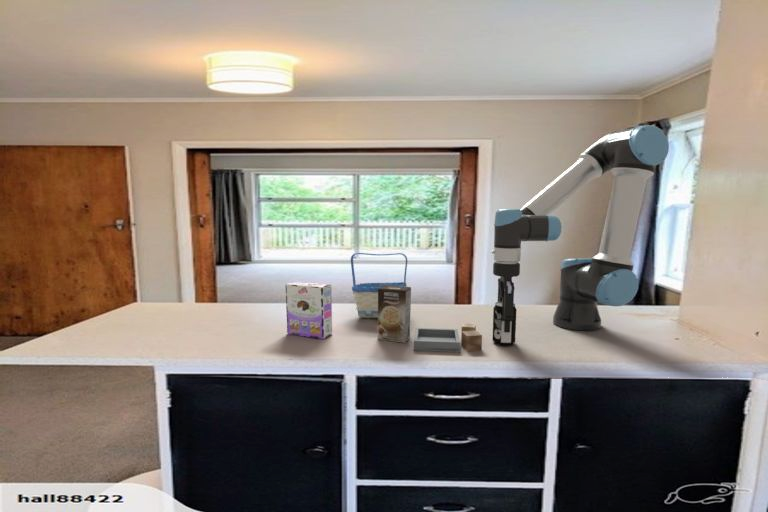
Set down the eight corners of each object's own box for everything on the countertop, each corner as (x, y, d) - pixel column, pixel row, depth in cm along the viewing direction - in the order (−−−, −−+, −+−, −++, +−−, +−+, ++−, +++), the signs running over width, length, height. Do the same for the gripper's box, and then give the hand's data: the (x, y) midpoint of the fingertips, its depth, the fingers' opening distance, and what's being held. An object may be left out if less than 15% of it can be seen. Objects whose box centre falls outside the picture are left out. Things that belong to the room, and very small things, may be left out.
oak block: (475, 336, 139) (476, 324, 139) (474, 340, 135) (474, 327, 135) (462, 335, 140) (463, 323, 140) (461, 339, 137) (461, 326, 136)
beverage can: (516, 347, 129) (517, 307, 127) (492, 345, 130) (494, 305, 128) (514, 340, 135) (515, 301, 133) (492, 339, 136) (493, 300, 135)
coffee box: (376, 339, 135) (376, 288, 133) (383, 333, 141) (383, 284, 139) (405, 343, 132) (405, 290, 130) (411, 336, 138) (411, 286, 136)
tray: (457, 337, 137) (457, 329, 137) (459, 352, 124) (460, 342, 124) (415, 336, 139) (415, 327, 138) (413, 350, 126) (413, 340, 125)
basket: (409, 312, 169) (410, 251, 166) (401, 323, 153) (402, 256, 150) (357, 309, 174) (357, 249, 171) (344, 320, 158) (344, 254, 155)
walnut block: (476, 345, 131) (476, 330, 130) (481, 350, 126) (482, 335, 126) (461, 346, 130) (461, 331, 129) (466, 351, 125) (466, 335, 125)
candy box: (333, 334, 141) (332, 283, 138) (323, 340, 135) (322, 287, 133) (297, 329, 146) (296, 280, 144) (286, 334, 141) (284, 283, 139)
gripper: (489, 257, 139) (487, 328, 142) (498, 266, 120) (495, 348, 123) (513, 257, 139) (511, 329, 141) (526, 267, 119) (523, 349, 122)
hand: (503, 338), depth 132 cm, fingers closed on beverage can, 6 cm apart
